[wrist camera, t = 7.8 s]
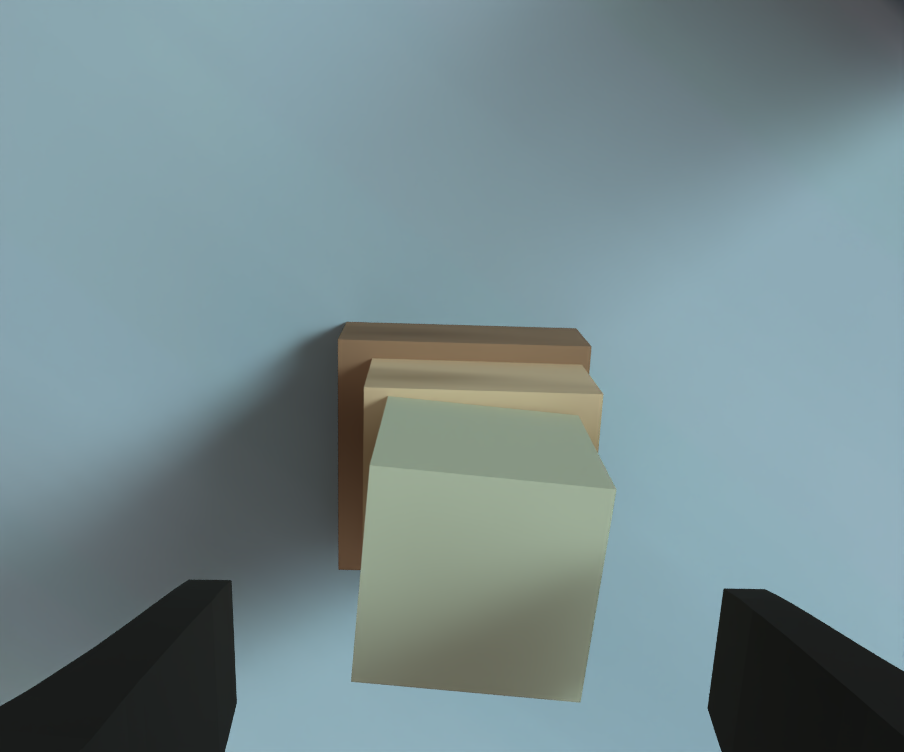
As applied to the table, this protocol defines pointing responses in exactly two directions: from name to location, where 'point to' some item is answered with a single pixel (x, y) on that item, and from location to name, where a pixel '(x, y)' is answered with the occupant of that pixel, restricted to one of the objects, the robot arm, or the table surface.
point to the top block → (481, 551)
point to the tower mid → (479, 392)
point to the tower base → (421, 344)
